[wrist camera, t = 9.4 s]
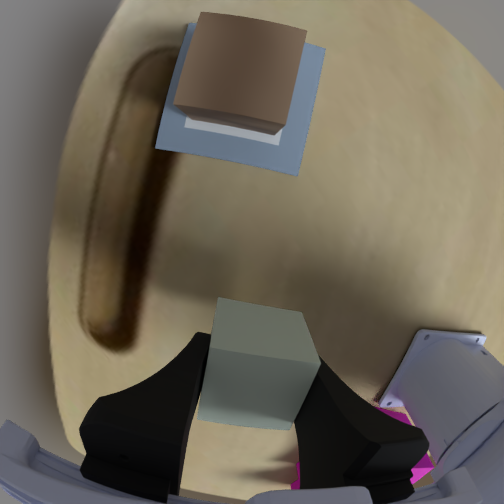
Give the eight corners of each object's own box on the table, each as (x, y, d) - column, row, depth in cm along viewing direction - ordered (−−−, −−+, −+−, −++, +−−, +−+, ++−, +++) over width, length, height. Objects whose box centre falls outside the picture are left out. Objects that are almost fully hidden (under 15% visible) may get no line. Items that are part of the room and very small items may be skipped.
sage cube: (301, 311, 14) (320, 363, 10) (279, 374, 15) (289, 430, 11) (218, 296, 13) (210, 347, 10) (205, 363, 14) (196, 419, 11)
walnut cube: (291, 62, 14) (307, 30, 9) (274, 135, 15) (285, 124, 11) (211, 47, 13) (201, 11, 9) (192, 119, 14) (173, 104, 10)
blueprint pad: (324, 50, 14) (325, 48, 13) (296, 176, 16) (297, 176, 16) (190, 24, 13) (189, 22, 13) (156, 148, 15) (154, 148, 15)
